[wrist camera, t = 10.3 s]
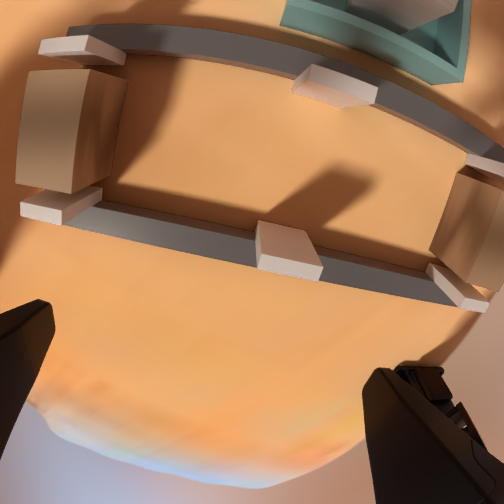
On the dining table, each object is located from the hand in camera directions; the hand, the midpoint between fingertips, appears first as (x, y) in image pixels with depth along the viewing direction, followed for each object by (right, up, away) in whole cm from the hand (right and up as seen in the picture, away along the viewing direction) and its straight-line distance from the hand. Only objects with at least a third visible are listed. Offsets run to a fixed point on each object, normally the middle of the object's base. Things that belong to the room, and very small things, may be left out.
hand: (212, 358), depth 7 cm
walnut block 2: (+16, +5, +11) cm, 20 cm away
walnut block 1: (-9, +10, +9) cm, 16 cm away
